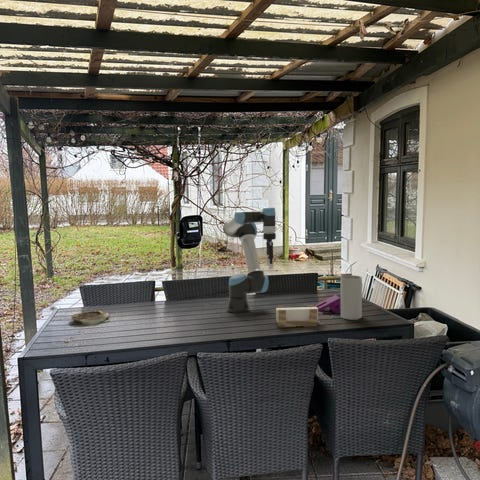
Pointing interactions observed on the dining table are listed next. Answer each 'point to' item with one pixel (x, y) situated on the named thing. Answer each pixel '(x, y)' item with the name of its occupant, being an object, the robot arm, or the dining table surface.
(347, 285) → the cylinder vase
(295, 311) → the bar
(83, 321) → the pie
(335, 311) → the mounting bracket
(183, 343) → the dining table surface
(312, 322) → the rack
